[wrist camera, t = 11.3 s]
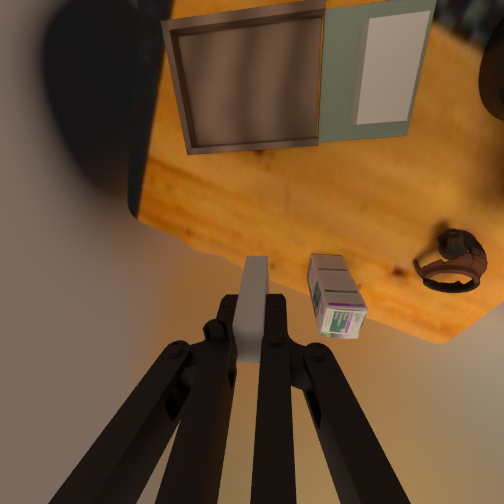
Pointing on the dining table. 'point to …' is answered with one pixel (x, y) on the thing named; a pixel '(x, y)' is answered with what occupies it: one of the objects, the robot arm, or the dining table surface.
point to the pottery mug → (456, 262)
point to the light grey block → (387, 67)
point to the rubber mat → (344, 69)
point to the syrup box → (335, 297)
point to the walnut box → (247, 77)
